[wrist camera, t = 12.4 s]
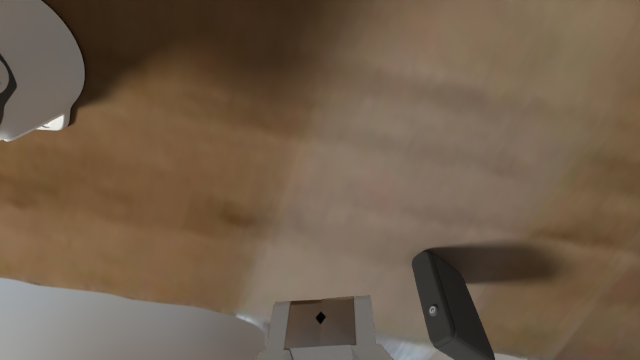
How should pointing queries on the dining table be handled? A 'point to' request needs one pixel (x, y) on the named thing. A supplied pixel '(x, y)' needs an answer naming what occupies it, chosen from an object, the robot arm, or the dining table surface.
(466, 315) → the dark grey upright block
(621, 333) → the dining table surface
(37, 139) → the dining table surface
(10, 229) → the dining table surface
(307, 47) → the dining table surface
